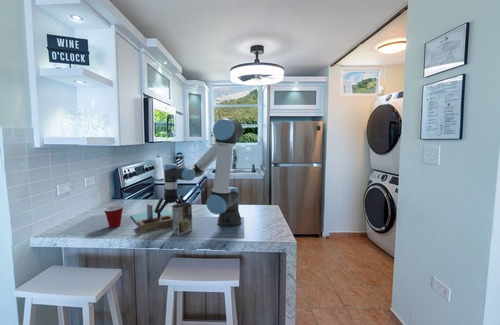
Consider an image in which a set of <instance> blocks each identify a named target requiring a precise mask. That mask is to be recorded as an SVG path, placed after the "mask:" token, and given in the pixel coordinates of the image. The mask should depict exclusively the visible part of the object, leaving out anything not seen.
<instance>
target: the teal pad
mask: <svg viewBox="0 0 500 325" xmlns="http://www.w3.org/2000/svg"><path fill="white" fill-rule="evenodd" d="M161 213H162V216H166V215H172V216H173V213H172V212H171V211H170V210H168V209H166V208H164V209H163V210H162V211H161ZM130 217H131V218H132V219H133V221H134V222H135V223H136V225H138V221H139V220H145V219H147V211H146V212H139V213H134V214H130ZM155 217H157V213H155V212H154V210H153V218H155Z"/></svg>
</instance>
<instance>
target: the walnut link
mask: <svg viewBox="0 0 500 325" xmlns="http://www.w3.org/2000/svg"><path fill="white" fill-rule="evenodd" d="M167 227H173V216H172V215H166V216H162V220H161V221H159V219H158V217H155V218H153V222H151V223H148V221H147V219H145V220H139V221H138V224H137V228H138V230H139V231H140V232H141V233H146V232H151V231H154V230H159V229H164V228H167Z"/></svg>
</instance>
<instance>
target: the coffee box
mask: <svg viewBox="0 0 500 325" xmlns="http://www.w3.org/2000/svg"><path fill="white" fill-rule="evenodd" d="M179 203H180V202H179ZM171 207H172V209H171V210H172V212H171V213H172V214H173V226H172V233H173V234H175V235H177V236H181V235H184V234H187V233H190V232H192V231H193V212H192V203H189V202H185V201H184V203H182V202H181V203H180V204H177V203H175V204H173V205H171Z"/></svg>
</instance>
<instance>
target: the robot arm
mask: <svg viewBox="0 0 500 325" xmlns="http://www.w3.org/2000/svg"><path fill="white" fill-rule="evenodd" d="M212 127H213V128H212V133H213V136H214V137H215V140H214V141H215V142H214V144H212V145H211V147H210V148H209V149H208V150H207V151H206V152H205V153H204V154H203V155H202V156H201V157H200V158H199V159H198V160H197V161H196V162H195V164H194V165H192V166H187V167H186V166H185V167H179V166H178V165H177V164H176V163H165V164H164V170H163V172H164V176H163V177H164V196H159V199H158V202H157V205H156V206H155V209H153V211H154V212H155V213H157V217H158V219H159V221H161V220H162V213H161V211H162V210H163V209H165V207H166V206H167V205H168V204H180V202H181V203H184V202H185V199H184V198H183V195H182V194H178V181H179V180H180V181H186V182H188V181H193V180H194V179H195V178H200V177H202V176H203V175H204V173H205V171H206V170H207V169H208V168H210V166H211V165H212V164H213V163H214V162H215V170H214V182H213V187H211V188H210V195H209V196H208V198H207V200H206V202H205V203H206V208H207V210H208V211H209V212H210V213H211V214H213V215H218V218H217V224H218V225H219V226H223V227H236V226H239V225H241V224H242V217H241V215H240V211H239V208H240V207H239V203H240V202H239V200H240V198H239V196H240V192H239V188H238V187H235V186H230V178H231V169H232V168H231V167H232V160H233V159H232V158H233V151H234V150H233V148H234V146H235V145H236V144H237V142H238V140H239V139H240V138H241V137H242V135H243V132H244V130H243V126H242V124H241V122H239V121H238V120H235V119H234V120H233V119H230V118H220V119H218V120H217V121H216V122H215V123H214V124H213V126H212ZM178 199H179V200H180V201H179V200H178ZM163 201H164V202H163Z"/></svg>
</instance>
